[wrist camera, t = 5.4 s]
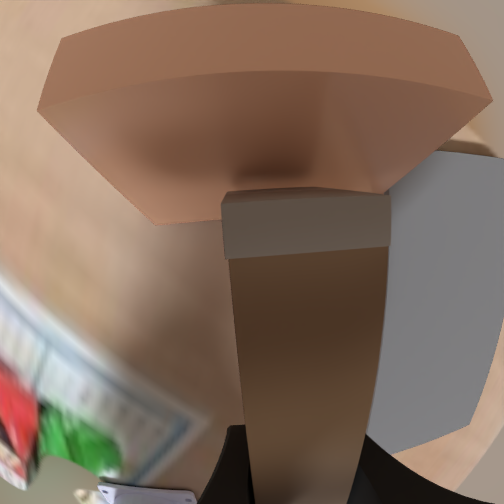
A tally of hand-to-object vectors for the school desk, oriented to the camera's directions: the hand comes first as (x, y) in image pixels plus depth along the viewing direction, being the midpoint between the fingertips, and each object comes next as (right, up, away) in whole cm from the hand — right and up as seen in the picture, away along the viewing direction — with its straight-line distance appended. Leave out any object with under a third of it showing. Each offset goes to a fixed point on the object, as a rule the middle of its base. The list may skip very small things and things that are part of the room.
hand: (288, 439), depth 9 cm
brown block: (0, +1, +2) cm, 2 cm away
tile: (-1, +9, +4) cm, 10 cm away
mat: (+11, +2, +7) cm, 13 cm away
